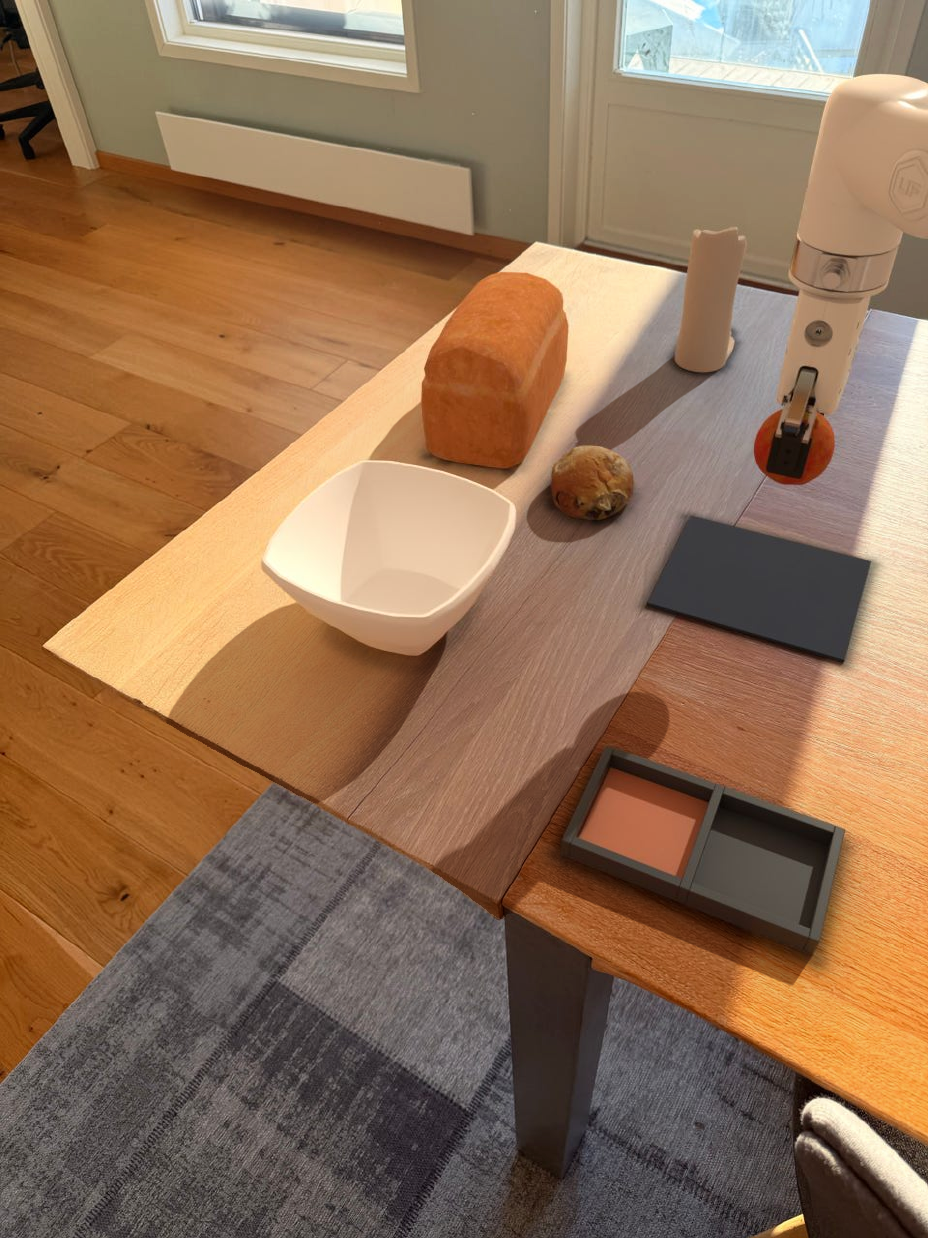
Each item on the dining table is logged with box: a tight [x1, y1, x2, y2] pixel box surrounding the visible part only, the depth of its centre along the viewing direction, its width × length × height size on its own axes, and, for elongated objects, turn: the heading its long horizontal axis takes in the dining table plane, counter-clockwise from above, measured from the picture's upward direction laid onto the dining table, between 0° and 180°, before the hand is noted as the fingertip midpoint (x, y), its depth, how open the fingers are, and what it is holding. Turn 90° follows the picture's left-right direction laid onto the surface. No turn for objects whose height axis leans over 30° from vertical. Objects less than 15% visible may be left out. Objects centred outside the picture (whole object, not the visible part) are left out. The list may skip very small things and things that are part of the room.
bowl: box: [260, 459, 517, 657], centre depth 92 cm, size 22×22×12 cm
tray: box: [560, 744, 846, 957], centre depth 74 cm, size 20×11×2 cm, turn 64°
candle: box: [674, 226, 747, 373], centre depth 126 cm, size 7×14×20 cm, turn 154°
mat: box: [646, 515, 872, 663], centre depth 97 cm, size 20×16×1 cm
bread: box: [420, 271, 569, 469], centre depth 118 cm, size 14×26×16 cm, turn 162°
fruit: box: [753, 408, 836, 486], centre depth 83 cm, size 7×7×8 cm
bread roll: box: [550, 445, 635, 521], centre depth 108 cm, size 10×10×8 cm
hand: (793, 449), depth 83 cm, fingers closed on fruit, 7 cm apart
